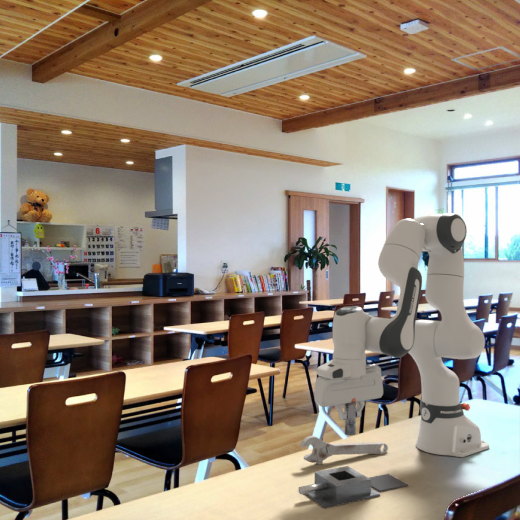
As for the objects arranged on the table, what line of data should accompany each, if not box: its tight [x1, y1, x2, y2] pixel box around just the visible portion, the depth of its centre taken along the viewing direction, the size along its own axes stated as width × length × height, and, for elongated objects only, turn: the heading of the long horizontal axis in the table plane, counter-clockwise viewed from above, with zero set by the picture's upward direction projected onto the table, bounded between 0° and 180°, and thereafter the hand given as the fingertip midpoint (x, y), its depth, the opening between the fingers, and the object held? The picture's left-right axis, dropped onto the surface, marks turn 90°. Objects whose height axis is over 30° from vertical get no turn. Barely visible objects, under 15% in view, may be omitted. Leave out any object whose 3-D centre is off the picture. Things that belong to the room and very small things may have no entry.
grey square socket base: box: [298, 465, 381, 509], centre depth 143 cm, size 19×12×4 cm, turn 116°
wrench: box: [300, 435, 389, 466], centre depth 168 cm, size 8×2×30 cm
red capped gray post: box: [343, 398, 357, 436], centre depth 156 cm, size 4×4×10 cm
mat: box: [368, 473, 409, 493], centre depth 150 cm, size 9×8×1 cm
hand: (350, 418), depth 156 cm, fingers closed on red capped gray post, 3 cm apart
